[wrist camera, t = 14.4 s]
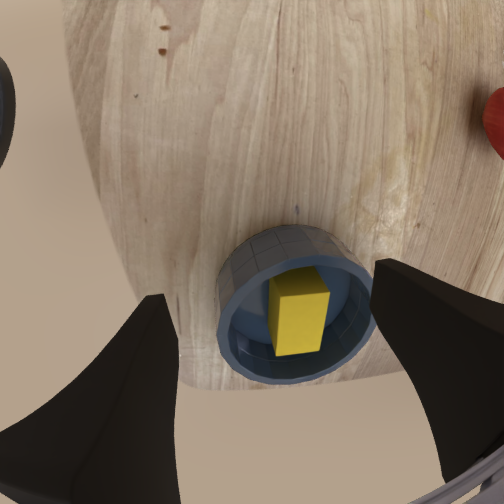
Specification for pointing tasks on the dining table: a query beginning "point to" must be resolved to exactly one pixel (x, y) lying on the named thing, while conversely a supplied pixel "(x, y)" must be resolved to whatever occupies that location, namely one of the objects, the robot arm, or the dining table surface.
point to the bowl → (257, 297)
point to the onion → (495, 120)
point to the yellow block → (297, 310)
